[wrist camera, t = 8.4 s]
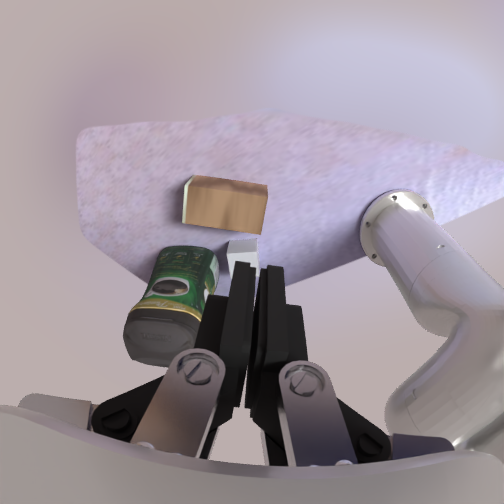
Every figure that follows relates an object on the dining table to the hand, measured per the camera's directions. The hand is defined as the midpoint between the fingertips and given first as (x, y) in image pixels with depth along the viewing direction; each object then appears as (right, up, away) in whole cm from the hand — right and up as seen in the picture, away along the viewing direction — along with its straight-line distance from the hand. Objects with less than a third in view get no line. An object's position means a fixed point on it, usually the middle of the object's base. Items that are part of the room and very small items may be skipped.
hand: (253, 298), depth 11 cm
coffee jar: (-10, 0, +36) cm, 37 cm away
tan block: (-8, +9, +28) cm, 30 cm away
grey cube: (-1, +2, +34) cm, 34 cm away
